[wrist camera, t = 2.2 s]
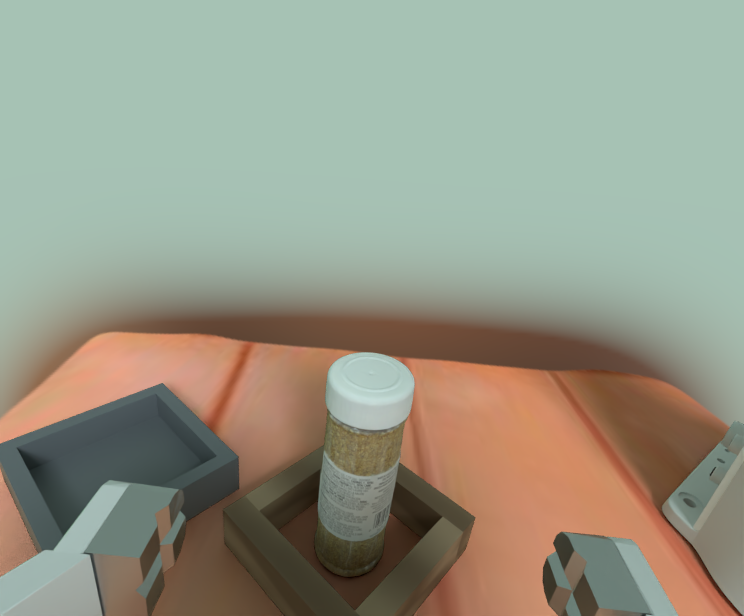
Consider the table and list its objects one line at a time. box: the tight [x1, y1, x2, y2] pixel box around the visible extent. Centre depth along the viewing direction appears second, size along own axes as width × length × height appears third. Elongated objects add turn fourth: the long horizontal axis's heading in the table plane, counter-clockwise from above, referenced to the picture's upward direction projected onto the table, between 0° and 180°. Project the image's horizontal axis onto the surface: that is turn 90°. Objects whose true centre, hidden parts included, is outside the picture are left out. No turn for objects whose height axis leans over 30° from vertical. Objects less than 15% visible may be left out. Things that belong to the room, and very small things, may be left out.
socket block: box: [223, 445, 475, 616], centre depth 28 cm, size 11×11×3 cm
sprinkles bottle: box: [314, 352, 415, 577], centre depth 25 cm, size 5×5×13 cm
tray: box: [0, 383, 239, 554], centre depth 30 cm, size 11×11×3 cm
